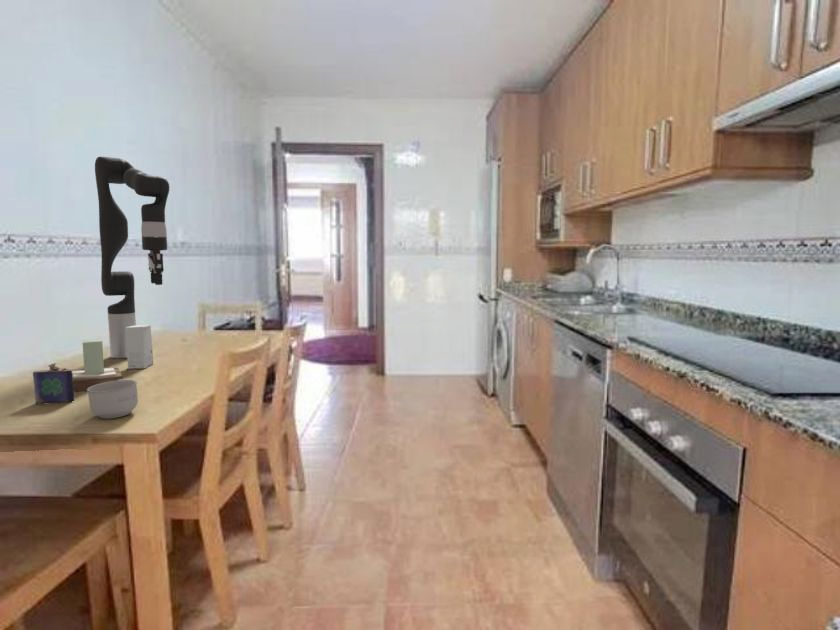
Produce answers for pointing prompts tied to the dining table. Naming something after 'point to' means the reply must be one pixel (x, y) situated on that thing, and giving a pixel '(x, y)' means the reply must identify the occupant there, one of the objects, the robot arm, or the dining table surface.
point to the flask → (53, 385)
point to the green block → (93, 356)
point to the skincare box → (139, 346)
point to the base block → (94, 378)
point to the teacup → (113, 398)
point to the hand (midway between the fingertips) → (156, 284)
